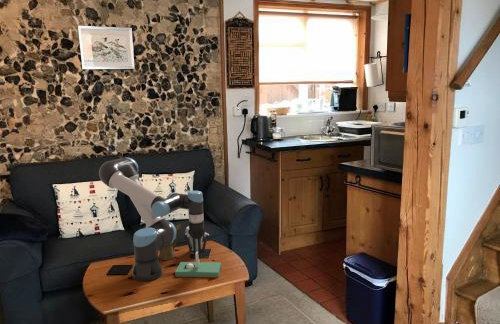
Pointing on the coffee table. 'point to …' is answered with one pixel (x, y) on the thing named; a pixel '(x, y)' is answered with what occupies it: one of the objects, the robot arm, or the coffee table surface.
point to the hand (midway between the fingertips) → (197, 264)
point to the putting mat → (199, 269)
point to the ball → (189, 266)
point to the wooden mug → (169, 248)
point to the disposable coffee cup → (192, 240)
